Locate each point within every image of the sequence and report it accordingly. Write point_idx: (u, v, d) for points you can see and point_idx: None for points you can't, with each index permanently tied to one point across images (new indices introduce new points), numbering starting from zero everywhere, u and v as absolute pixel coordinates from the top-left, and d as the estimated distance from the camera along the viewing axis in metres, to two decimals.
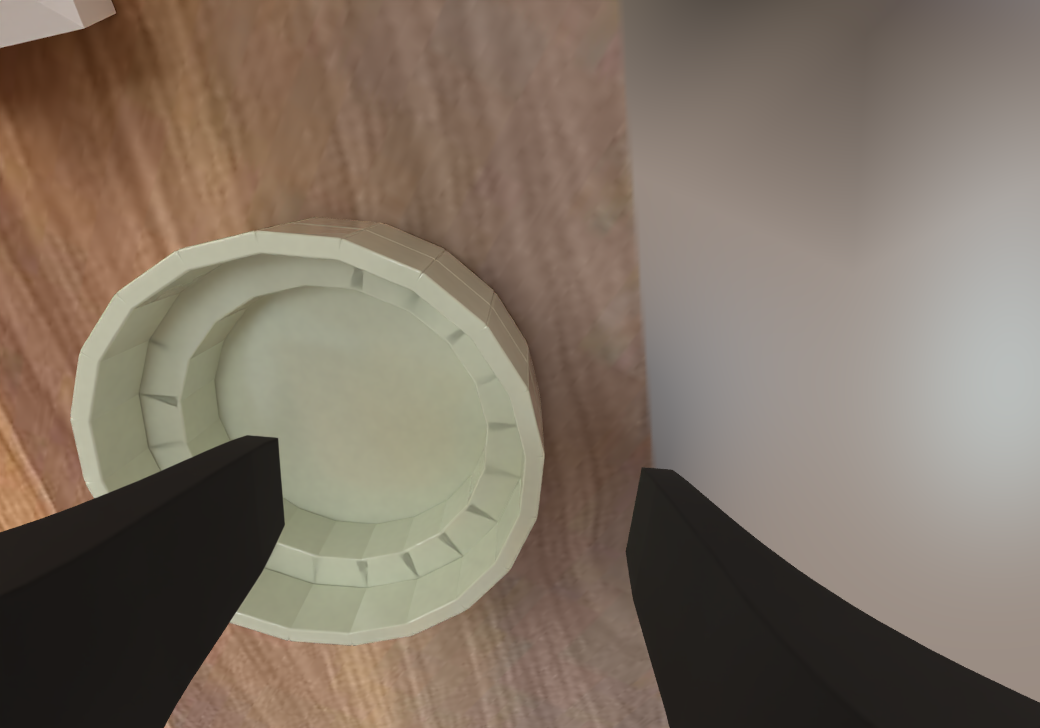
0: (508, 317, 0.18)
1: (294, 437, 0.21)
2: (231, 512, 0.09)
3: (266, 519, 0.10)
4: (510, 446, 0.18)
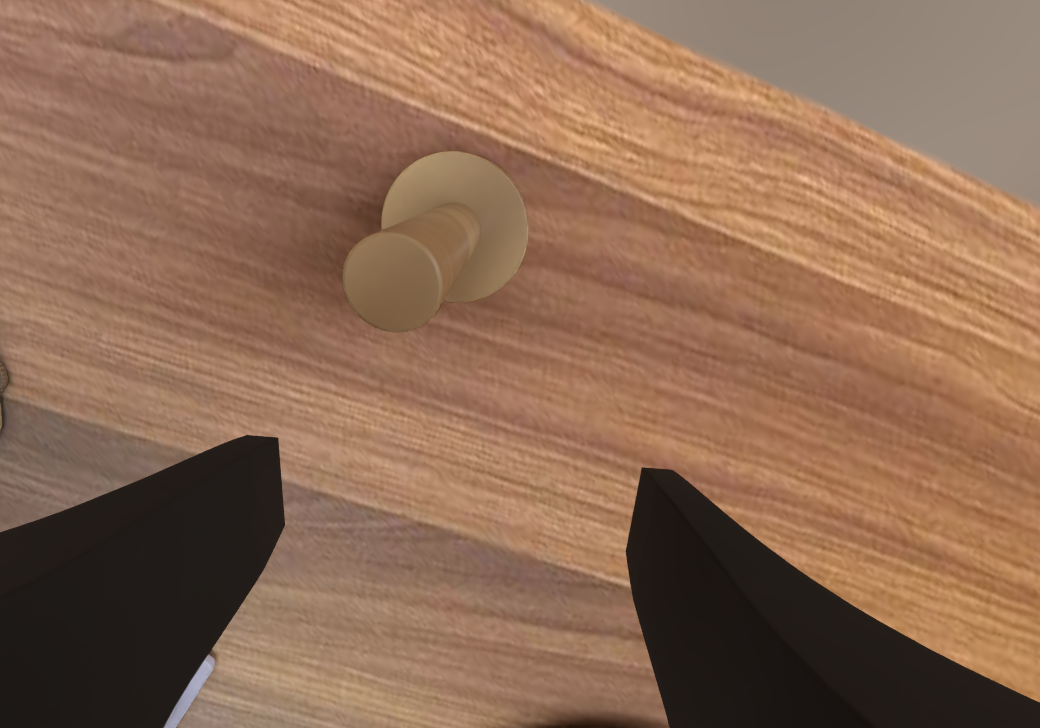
0: None
1: None
2: (231, 512, 0.09)
3: (266, 519, 0.10)
4: None
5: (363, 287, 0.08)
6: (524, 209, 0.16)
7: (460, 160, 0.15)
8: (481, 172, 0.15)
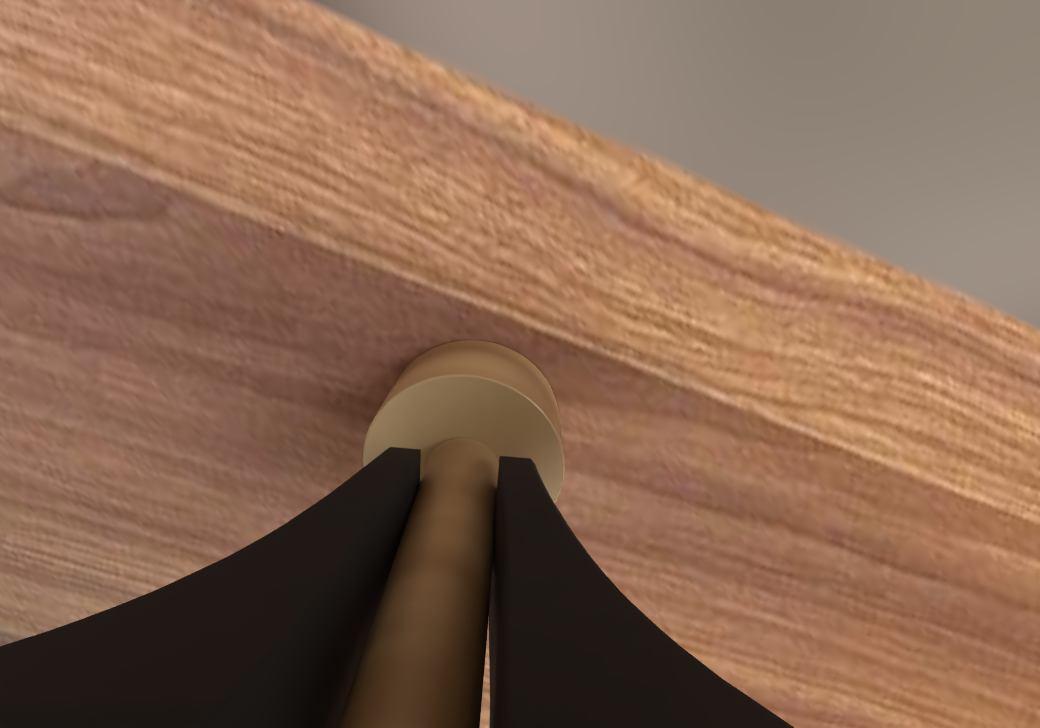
0: None
1: None
2: (397, 525, 0.09)
3: None
4: None
5: None
6: (560, 445, 0.11)
7: (472, 386, 0.11)
8: (502, 401, 0.11)
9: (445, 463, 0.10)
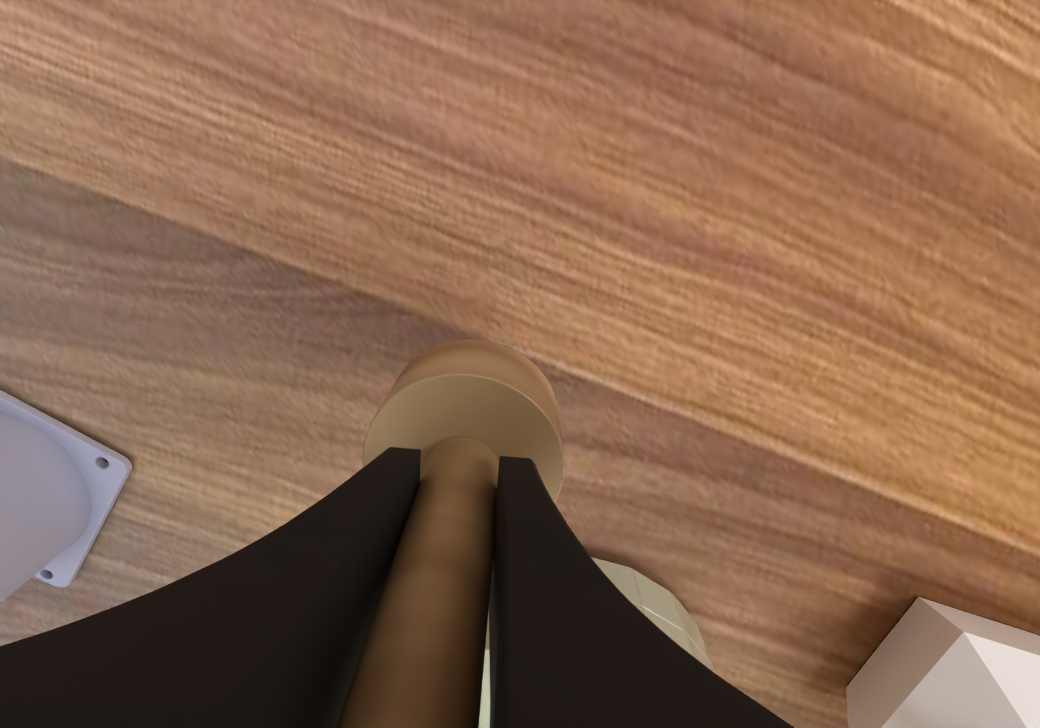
0: None
1: None
2: (397, 525, 0.09)
3: None
4: None
5: None
6: (560, 444, 0.11)
7: (472, 385, 0.11)
8: (502, 401, 0.11)
9: (445, 462, 0.10)
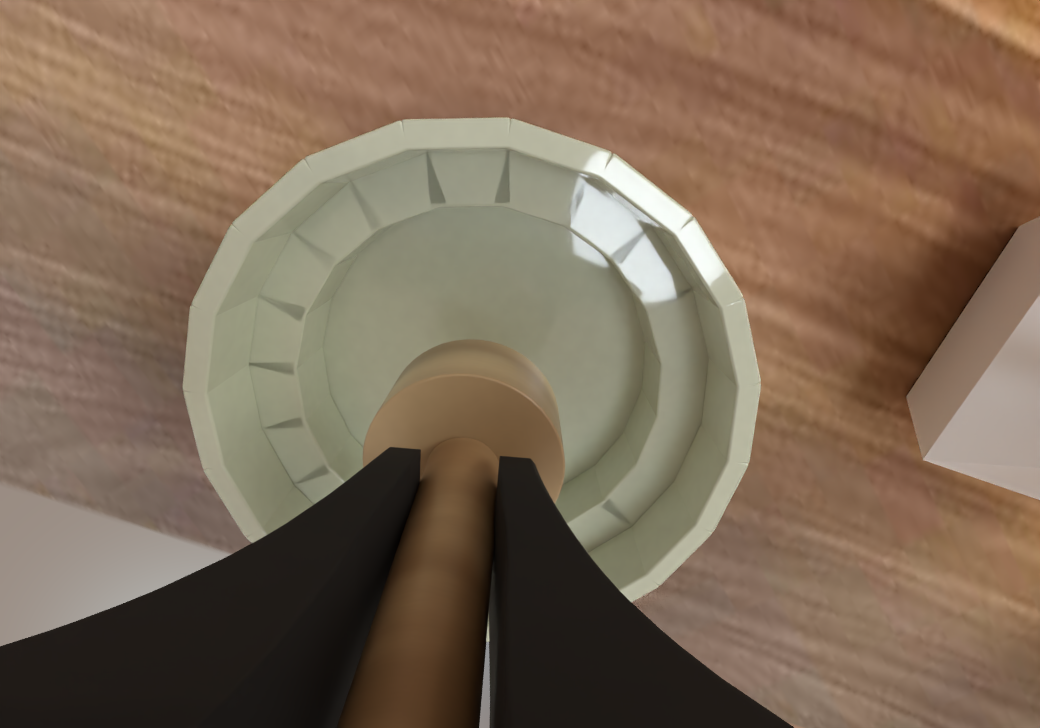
0: None
1: (488, 283, 0.16)
2: (397, 525, 0.09)
3: None
4: None
5: None
6: (561, 444, 0.11)
7: (473, 386, 0.11)
8: (502, 401, 0.11)
9: (445, 462, 0.10)
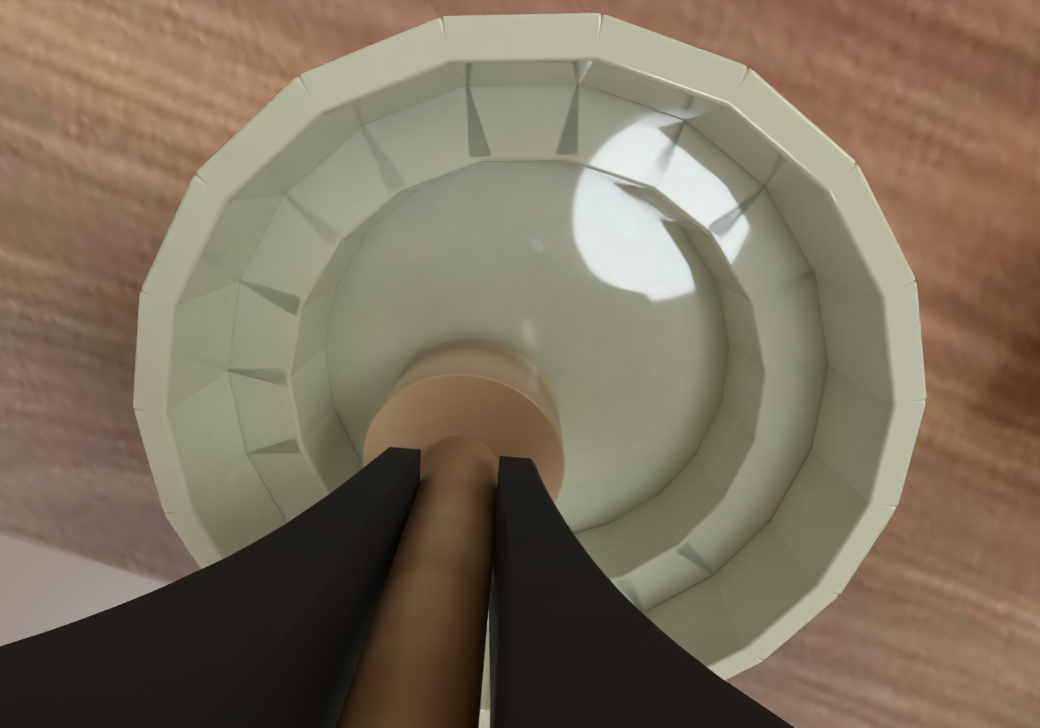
0: None
1: (534, 268, 0.13)
2: (397, 525, 0.09)
3: None
4: None
5: None
6: (560, 444, 0.11)
7: (472, 385, 0.11)
8: (501, 400, 0.11)
9: (445, 462, 0.10)
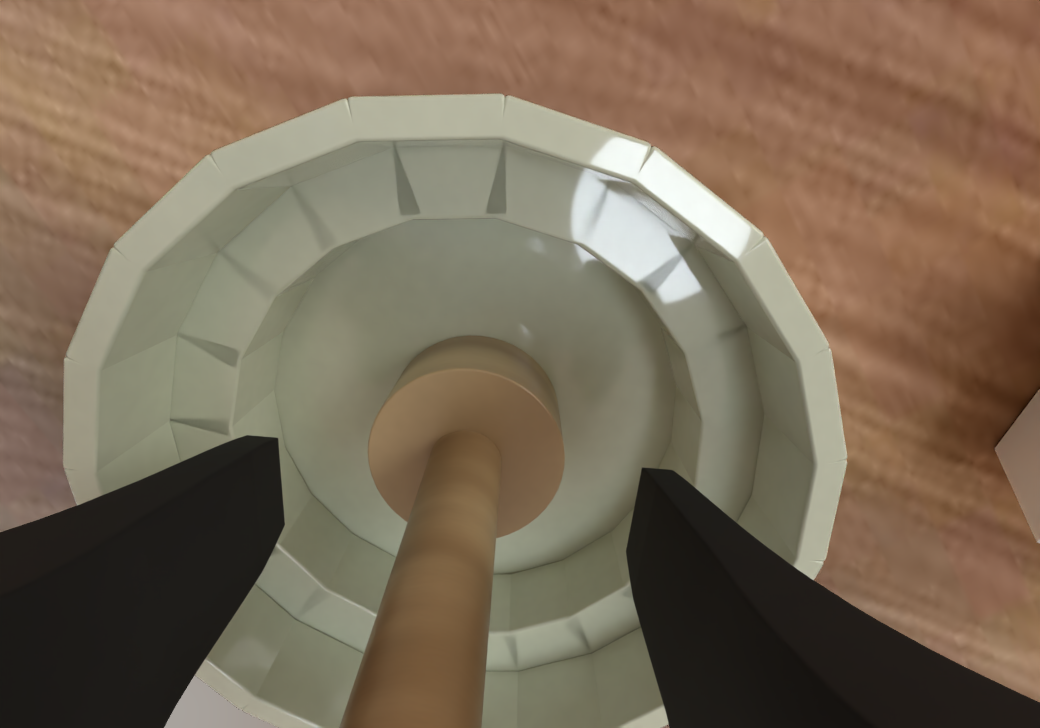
0: None
1: (479, 313, 0.13)
2: (231, 512, 0.09)
3: (266, 519, 0.10)
4: (345, 628, 0.14)
5: None
6: (561, 437, 0.12)
7: (475, 380, 0.11)
8: (503, 395, 0.11)
9: (448, 454, 0.11)
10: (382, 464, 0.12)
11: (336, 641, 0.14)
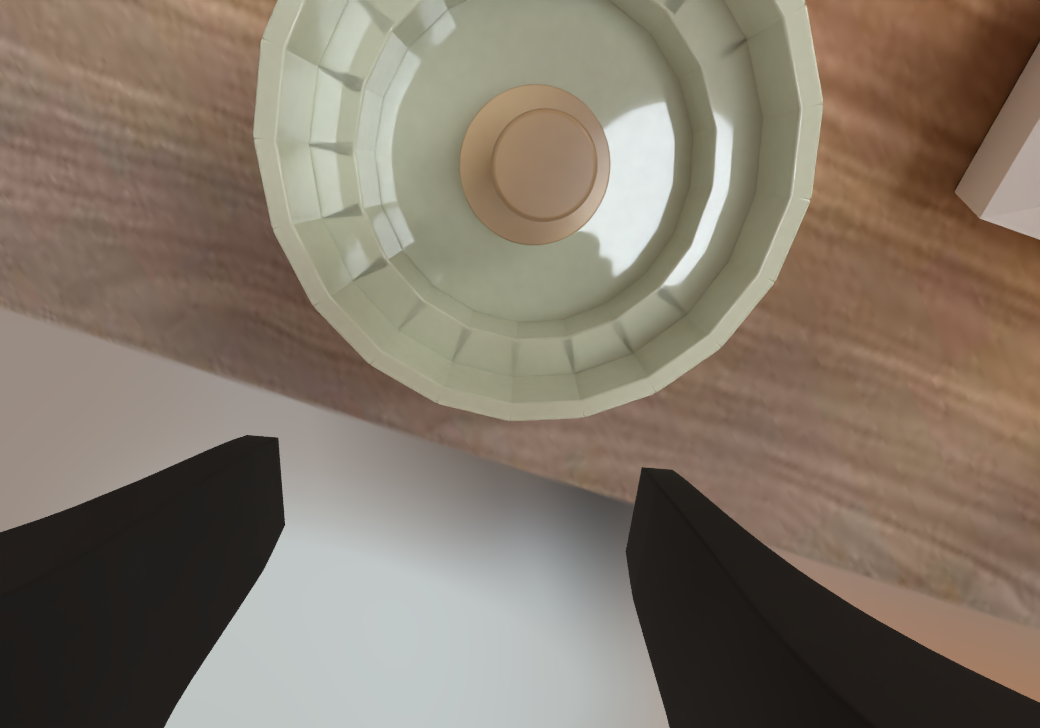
0: None
1: (536, 75, 0.17)
2: (231, 512, 0.09)
3: (266, 519, 0.10)
4: (437, 337, 0.17)
5: (513, 171, 0.08)
6: (607, 144, 0.15)
7: (542, 93, 0.15)
8: (563, 106, 0.15)
9: None
10: (470, 174, 0.15)
11: (430, 351, 0.18)
